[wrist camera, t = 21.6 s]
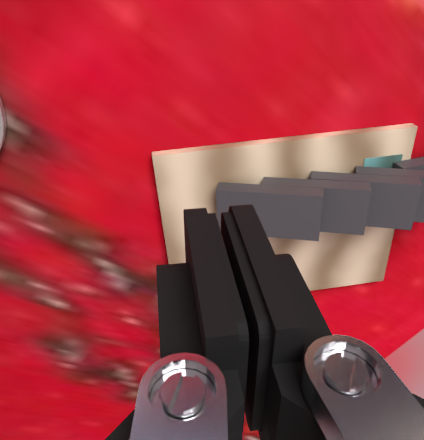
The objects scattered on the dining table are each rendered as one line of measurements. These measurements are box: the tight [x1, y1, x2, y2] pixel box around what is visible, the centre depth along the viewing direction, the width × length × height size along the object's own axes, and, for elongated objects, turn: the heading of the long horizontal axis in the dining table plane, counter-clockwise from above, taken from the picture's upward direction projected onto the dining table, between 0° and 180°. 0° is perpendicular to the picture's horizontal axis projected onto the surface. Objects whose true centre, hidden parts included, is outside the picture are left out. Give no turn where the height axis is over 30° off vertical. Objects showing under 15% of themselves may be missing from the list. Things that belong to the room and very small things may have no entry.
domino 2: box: [262, 177, 372, 235], centre depth 40 cm, size 2×5×10 cm
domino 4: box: [355, 166, 424, 223], centre depth 40 cm, size 2×5×10 cm
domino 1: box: [216, 182, 324, 241], centre depth 40 cm, size 2×5×10 cm
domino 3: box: [311, 171, 423, 230], centre depth 40 cm, size 2×5×10 cm
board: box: [152, 123, 418, 291], centre depth 44 cm, size 26×20×1 cm
